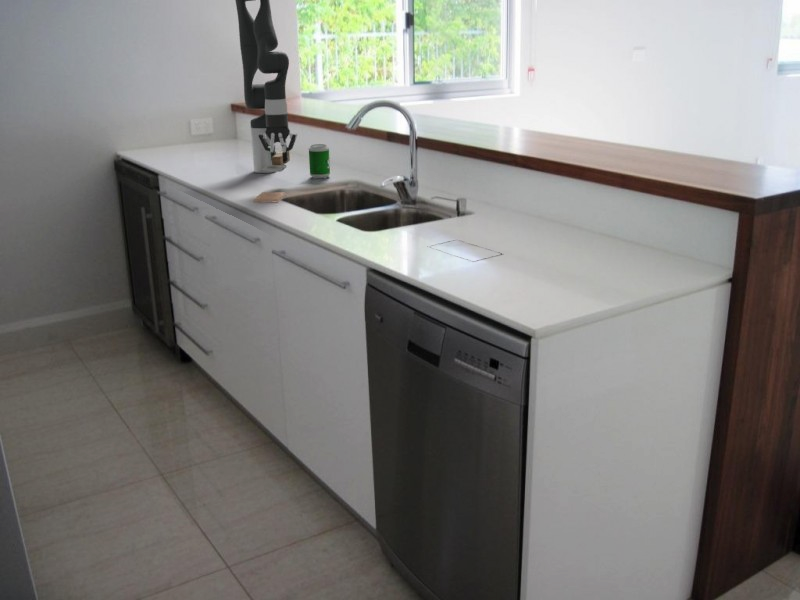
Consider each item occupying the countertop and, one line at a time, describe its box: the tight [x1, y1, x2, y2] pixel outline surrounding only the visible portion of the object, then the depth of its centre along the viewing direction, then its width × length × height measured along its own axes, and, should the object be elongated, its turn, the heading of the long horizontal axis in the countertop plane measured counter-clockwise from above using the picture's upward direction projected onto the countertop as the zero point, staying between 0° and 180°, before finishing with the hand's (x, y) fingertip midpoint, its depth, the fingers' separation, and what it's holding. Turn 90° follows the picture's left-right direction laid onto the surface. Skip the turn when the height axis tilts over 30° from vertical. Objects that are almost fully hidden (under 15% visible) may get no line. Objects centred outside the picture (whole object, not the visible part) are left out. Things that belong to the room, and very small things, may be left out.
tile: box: [253, 191, 286, 203], centre depth 265 cm, size 2×8×11 cm
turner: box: [261, 150, 291, 173], centre depth 275 cm, size 22×7×4 cm, turn 175°
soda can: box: [308, 143, 331, 179], centre depth 297 cm, size 8×8×12 cm
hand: (279, 162), depth 277 cm, fingers closed on turner, 3 cm apart
